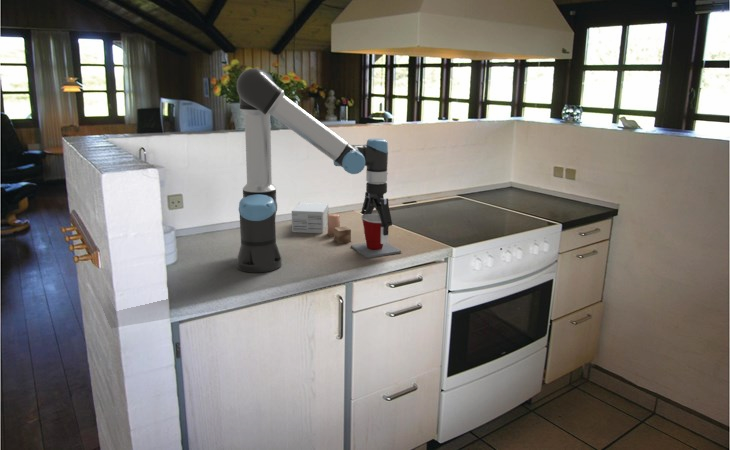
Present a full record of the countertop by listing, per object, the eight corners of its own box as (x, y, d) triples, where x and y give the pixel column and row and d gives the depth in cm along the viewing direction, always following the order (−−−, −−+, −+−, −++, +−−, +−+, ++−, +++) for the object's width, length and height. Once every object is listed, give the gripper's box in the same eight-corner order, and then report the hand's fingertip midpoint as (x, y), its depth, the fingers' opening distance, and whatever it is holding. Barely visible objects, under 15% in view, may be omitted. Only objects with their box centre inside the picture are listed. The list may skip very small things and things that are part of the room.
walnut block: (339, 243, 213) (339, 230, 212) (334, 239, 218) (334, 227, 216) (350, 241, 215) (350, 229, 214) (345, 238, 220) (345, 226, 218)
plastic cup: (387, 253, 199) (387, 221, 196) (358, 251, 201) (358, 219, 198) (391, 244, 209) (392, 214, 206) (364, 242, 211) (364, 212, 208)
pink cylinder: (330, 236, 222) (330, 217, 220) (325, 233, 226) (325, 214, 224) (341, 234, 224) (341, 215, 222) (336, 231, 228) (336, 213, 226)
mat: (367, 258, 196) (367, 255, 196) (350, 247, 208) (350, 245, 208) (401, 253, 202) (401, 250, 202) (383, 242, 214) (383, 240, 214)
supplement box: (323, 233, 226) (323, 211, 223) (291, 232, 227) (291, 210, 224) (328, 223, 242) (328, 202, 240) (299, 222, 243) (298, 201, 241)
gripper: (402, 187, 189) (401, 246, 195) (370, 175, 211) (369, 228, 216) (383, 189, 186) (382, 249, 192) (352, 177, 208) (352, 230, 213)
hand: (375, 238), depth 204 cm, fingers open, 13 cm apart
